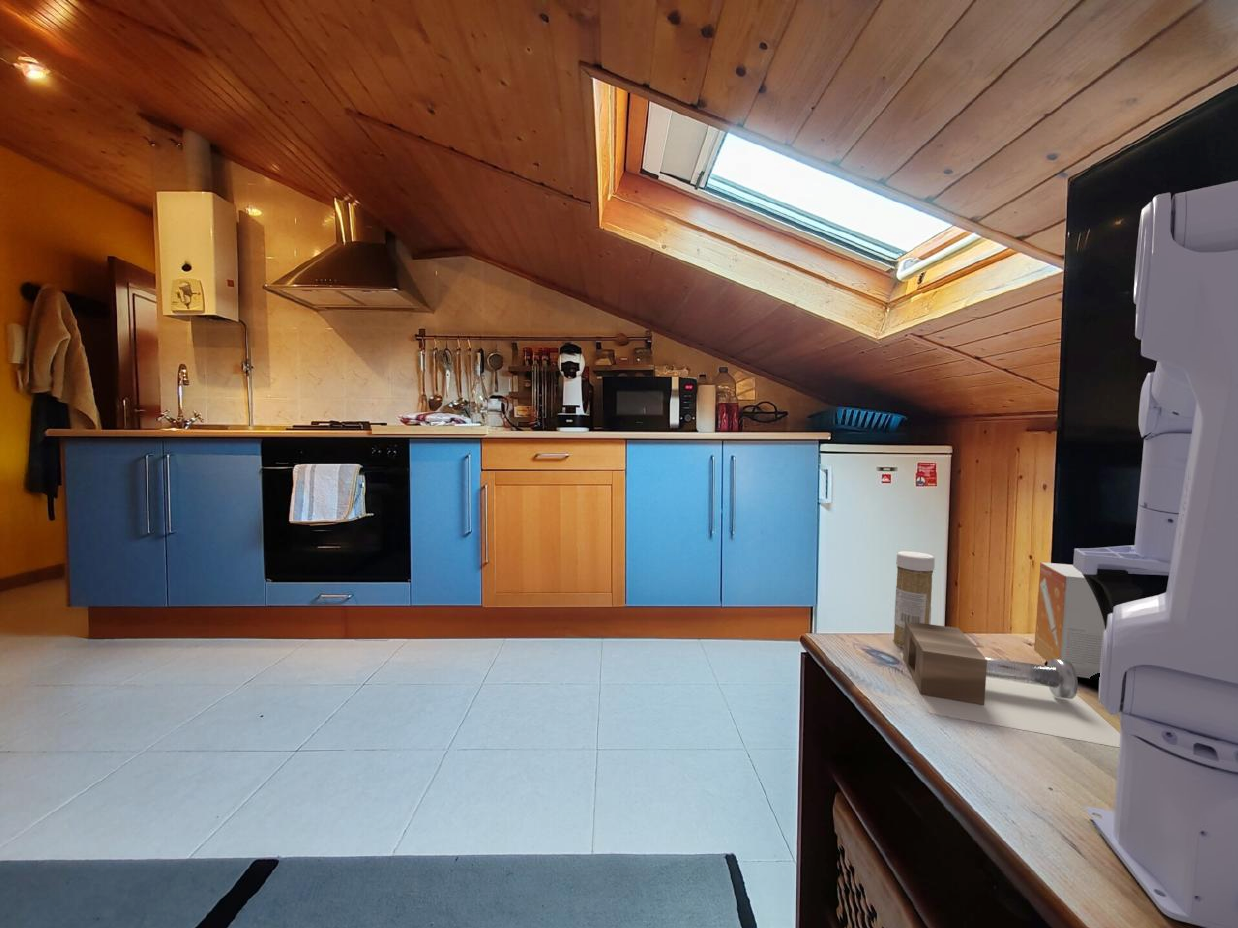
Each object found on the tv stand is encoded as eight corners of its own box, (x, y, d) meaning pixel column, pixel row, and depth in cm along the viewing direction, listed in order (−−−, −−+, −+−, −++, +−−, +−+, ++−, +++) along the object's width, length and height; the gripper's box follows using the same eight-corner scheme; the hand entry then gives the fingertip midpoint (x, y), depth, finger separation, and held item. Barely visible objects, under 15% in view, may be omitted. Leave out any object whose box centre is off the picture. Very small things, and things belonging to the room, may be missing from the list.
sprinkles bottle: (935, 650, 70) (941, 555, 69) (919, 657, 67) (924, 558, 67) (902, 639, 74) (907, 548, 73) (885, 645, 71) (890, 551, 70)
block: (984, 705, 54) (987, 660, 54) (920, 694, 56) (923, 650, 56) (956, 666, 63) (958, 628, 63) (902, 658, 65) (904, 621, 65)
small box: (1032, 653, 70) (1038, 561, 69) (1090, 662, 68) (1097, 566, 67) (1058, 678, 62) (1065, 575, 62) (1124, 689, 60) (1132, 582, 59)
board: (1138, 757, 47) (1139, 750, 47) (929, 718, 52) (929, 712, 52) (1055, 680, 62) (1055, 675, 62) (899, 657, 67) (899, 652, 67)
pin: (1076, 705, 54) (1078, 669, 54) (944, 684, 58) (946, 650, 58) (1057, 688, 58) (1060, 654, 57) (935, 669, 62) (937, 637, 61)
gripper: (1256, 497, 46) (1239, 634, 48) (1061, 496, 51) (1053, 621, 53) (1332, 518, 40) (1308, 676, 42) (1100, 515, 44) (1089, 656, 47)
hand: (1169, 648), depth 47 cm, fingers open, 7 cm apart
